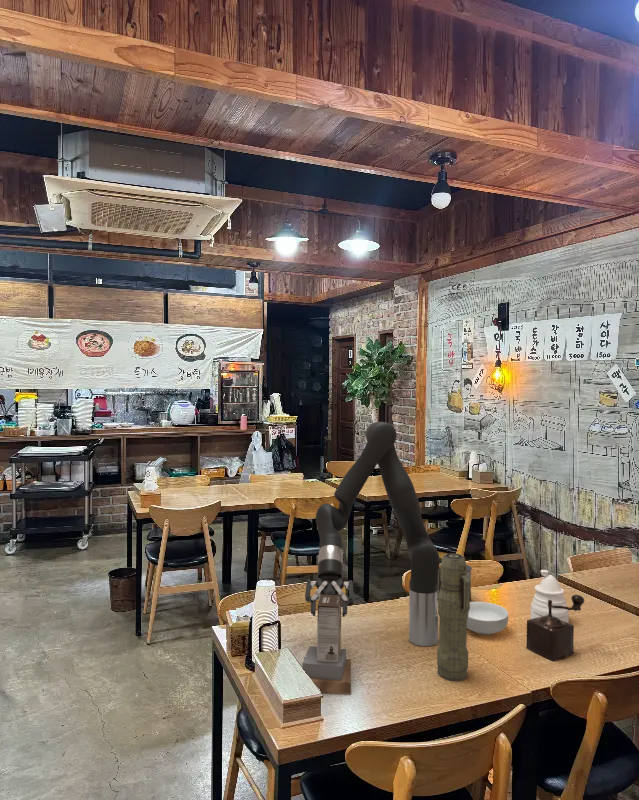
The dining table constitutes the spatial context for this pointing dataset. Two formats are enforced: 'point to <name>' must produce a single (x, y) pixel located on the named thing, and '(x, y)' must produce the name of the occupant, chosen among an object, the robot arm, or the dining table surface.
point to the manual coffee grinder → (552, 633)
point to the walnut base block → (336, 682)
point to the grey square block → (323, 666)
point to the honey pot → (549, 591)
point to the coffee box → (329, 628)
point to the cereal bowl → (486, 618)
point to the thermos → (453, 617)
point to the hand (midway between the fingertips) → (328, 615)
